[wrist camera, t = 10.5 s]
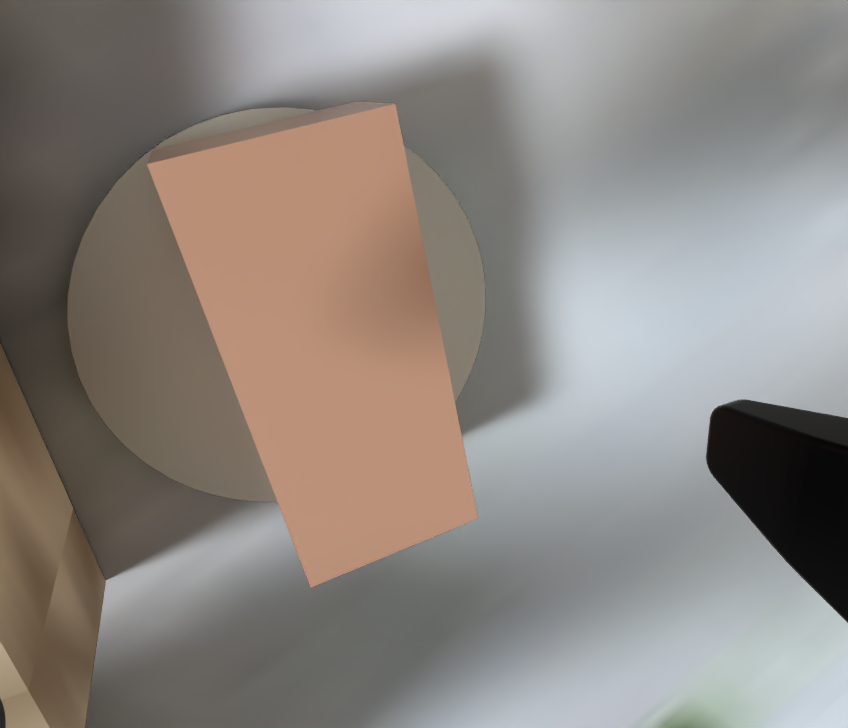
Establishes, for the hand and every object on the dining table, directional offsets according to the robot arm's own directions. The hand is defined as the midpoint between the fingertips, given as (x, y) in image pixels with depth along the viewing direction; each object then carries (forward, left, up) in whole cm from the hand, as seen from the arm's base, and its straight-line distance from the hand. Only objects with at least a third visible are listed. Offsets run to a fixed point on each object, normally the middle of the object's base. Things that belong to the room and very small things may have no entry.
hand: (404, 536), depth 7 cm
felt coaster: (0, 0, -8) cm, 8 cm away
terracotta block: (0, -1, -7) cm, 7 cm away
